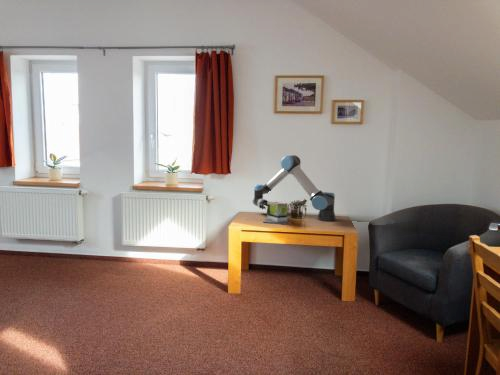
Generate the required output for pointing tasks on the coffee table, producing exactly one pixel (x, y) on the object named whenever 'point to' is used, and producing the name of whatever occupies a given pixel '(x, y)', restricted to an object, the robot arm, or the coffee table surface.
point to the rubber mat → (275, 221)
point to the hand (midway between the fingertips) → (274, 207)
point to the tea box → (277, 211)
